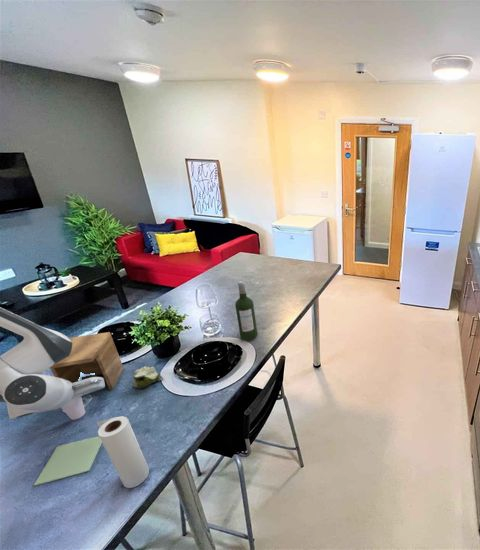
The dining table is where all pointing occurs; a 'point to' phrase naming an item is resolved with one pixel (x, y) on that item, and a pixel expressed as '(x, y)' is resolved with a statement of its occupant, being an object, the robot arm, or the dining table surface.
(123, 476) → the paper towel roll
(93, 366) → the desk
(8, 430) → the dining table surface
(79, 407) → the smoothie
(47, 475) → the mat
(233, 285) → the dining table surface
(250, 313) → the wine bottle
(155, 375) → the mossy rock
